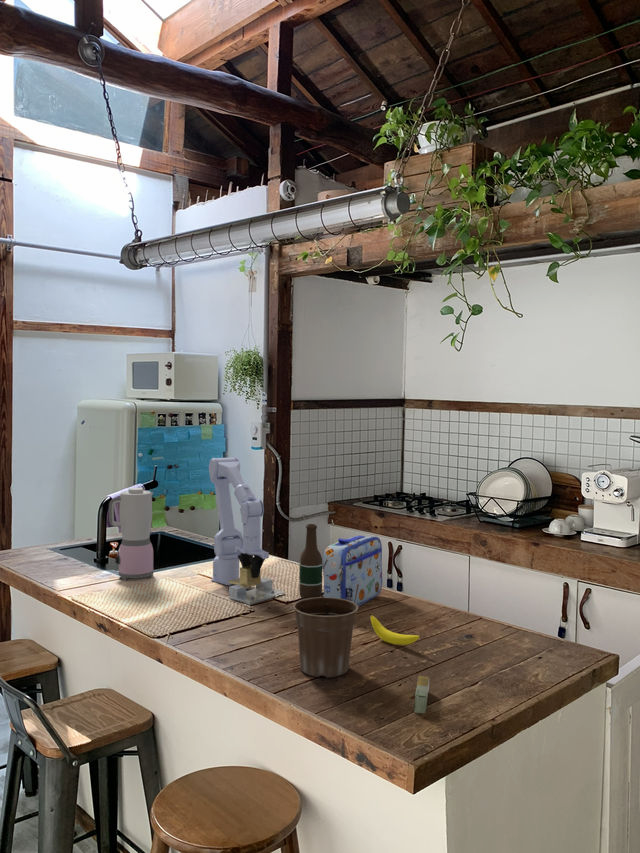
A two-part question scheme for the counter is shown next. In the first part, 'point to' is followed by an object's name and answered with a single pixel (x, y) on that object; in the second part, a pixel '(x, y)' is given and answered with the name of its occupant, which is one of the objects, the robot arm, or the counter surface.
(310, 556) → the beer bottle
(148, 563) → the blender
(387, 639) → the banana
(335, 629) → the plant pot
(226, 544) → the robot arm
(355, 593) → the lunch box
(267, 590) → the fixed leaf
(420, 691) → the medication box
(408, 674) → the counter surface
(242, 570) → the pale gold block
